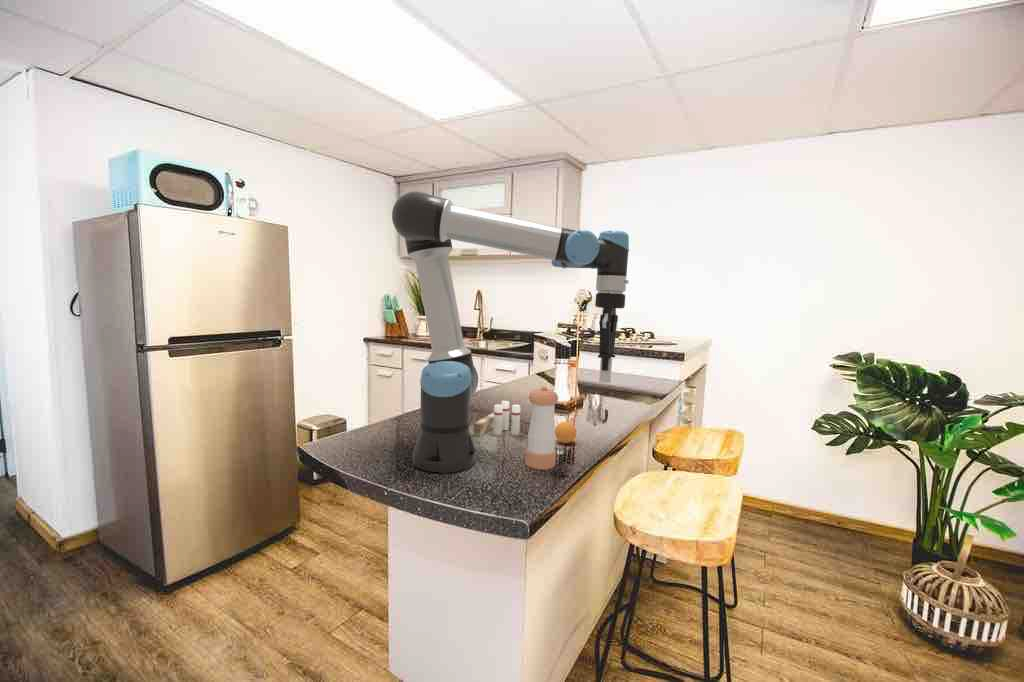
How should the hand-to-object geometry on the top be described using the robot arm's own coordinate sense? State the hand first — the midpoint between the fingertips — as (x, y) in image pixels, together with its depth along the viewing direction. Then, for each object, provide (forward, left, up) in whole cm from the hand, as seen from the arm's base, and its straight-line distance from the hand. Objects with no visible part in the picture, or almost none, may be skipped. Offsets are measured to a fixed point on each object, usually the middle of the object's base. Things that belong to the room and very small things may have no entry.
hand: (604, 381), depth 118 cm
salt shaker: (-21, -1, -19) cm, 28 cm away
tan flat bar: (-20, +28, -18) cm, 39 cm away
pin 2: (-15, +26, -18) cm, 35 cm away
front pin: (-14, +20, -18) cm, 31 cm away
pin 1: (-19, +23, -18) cm, 35 cm away
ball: (-6, +8, -15) cm, 18 cm away
